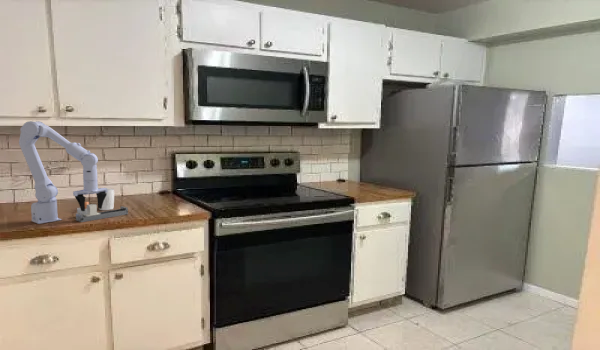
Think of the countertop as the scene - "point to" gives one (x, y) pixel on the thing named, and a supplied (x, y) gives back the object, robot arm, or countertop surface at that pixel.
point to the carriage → (91, 210)
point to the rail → (103, 214)
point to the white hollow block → (81, 211)
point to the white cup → (108, 200)
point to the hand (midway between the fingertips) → (91, 209)
